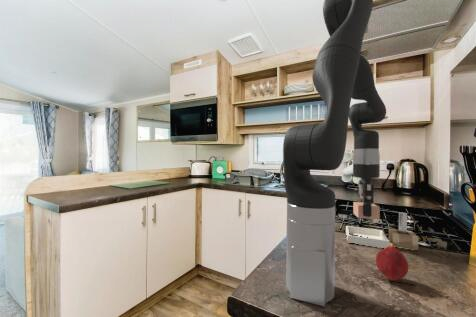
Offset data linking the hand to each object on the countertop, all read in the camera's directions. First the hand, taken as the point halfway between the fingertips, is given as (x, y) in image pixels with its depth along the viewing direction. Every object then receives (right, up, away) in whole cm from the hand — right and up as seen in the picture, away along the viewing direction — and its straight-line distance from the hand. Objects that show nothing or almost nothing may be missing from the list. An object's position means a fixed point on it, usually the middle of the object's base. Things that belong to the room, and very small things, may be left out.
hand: (365, 213), depth 71 cm
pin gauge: (+9, -9, -4) cm, 13 cm away
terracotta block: (0, -1, 0) cm, 1 cm away
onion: (-8, -9, -24) cm, 27 cm away
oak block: (+9, -9, -4) cm, 13 cm away
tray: (0, -9, 0) cm, 9 cm away
